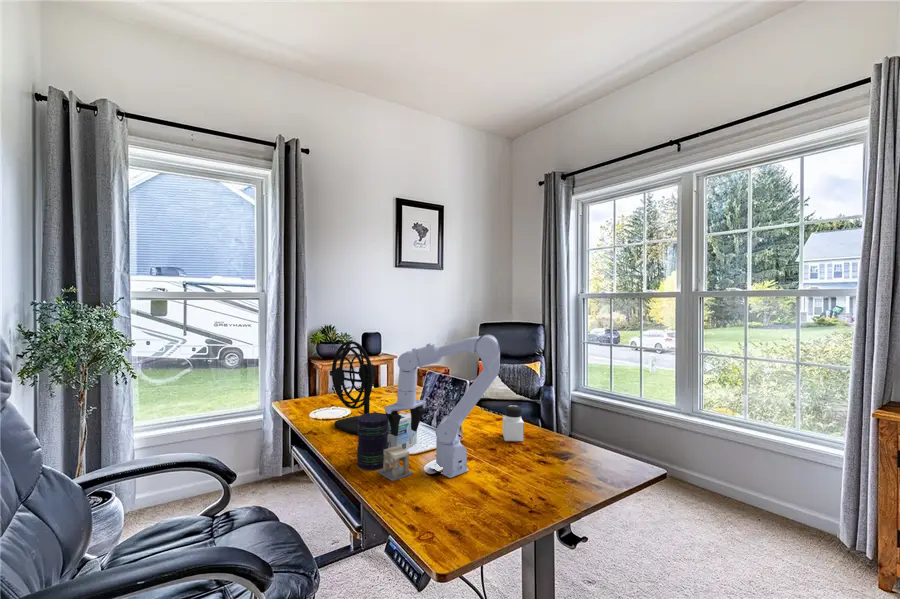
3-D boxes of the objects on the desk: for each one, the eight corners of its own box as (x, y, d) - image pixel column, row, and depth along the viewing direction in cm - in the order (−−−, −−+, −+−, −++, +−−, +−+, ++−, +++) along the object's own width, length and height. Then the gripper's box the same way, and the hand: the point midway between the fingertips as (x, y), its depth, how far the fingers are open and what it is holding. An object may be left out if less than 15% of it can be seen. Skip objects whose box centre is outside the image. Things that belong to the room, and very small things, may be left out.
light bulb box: (396, 453, 139) (397, 421, 139) (382, 448, 143) (383, 418, 143) (417, 444, 147) (418, 414, 147) (403, 440, 151) (404, 411, 151)
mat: (413, 474, 123) (413, 472, 123) (392, 481, 118) (392, 479, 118) (397, 465, 129) (397, 464, 129) (377, 472, 124) (377, 470, 124)
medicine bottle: (523, 441, 152) (524, 409, 152) (504, 441, 152) (505, 409, 152) (520, 435, 159) (521, 404, 159) (502, 434, 160) (503, 404, 160)
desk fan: (319, 424, 169) (321, 339, 169) (356, 415, 182) (357, 337, 181) (357, 440, 150) (359, 345, 150) (394, 430, 163) (396, 342, 163)
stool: (408, 473, 122) (408, 451, 122) (394, 477, 119) (395, 455, 119) (397, 466, 127) (397, 445, 127) (383, 471, 123) (383, 449, 123)
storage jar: (394, 464, 130) (395, 417, 130) (368, 473, 123) (368, 423, 123) (376, 455, 137) (377, 410, 137) (350, 463, 130) (351, 416, 130)
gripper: (416, 384, 136) (414, 425, 137) (380, 389, 126) (377, 433, 127) (430, 389, 131) (428, 431, 132) (394, 394, 121) (391, 440, 121)
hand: (404, 432), depth 129 cm, fingers open, 7 cm apart
